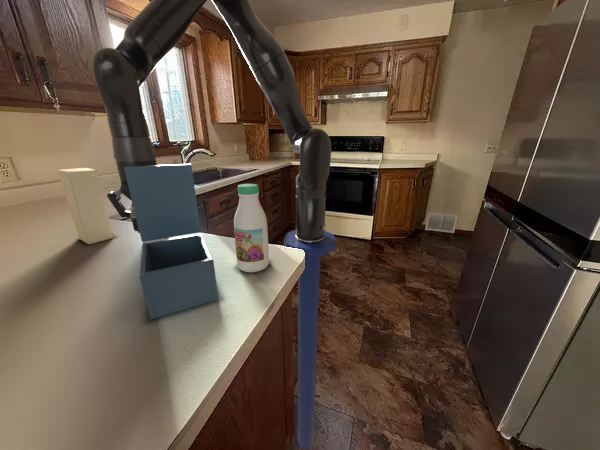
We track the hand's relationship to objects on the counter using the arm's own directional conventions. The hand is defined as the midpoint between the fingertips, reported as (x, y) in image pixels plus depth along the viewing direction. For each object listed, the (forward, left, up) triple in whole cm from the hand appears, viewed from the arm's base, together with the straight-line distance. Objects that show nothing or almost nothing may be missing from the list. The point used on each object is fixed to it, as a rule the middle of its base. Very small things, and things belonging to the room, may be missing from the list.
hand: (151, 230), depth 60 cm
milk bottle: (+1, +25, -8) cm, 27 cm away
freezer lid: (+6, +9, +9) cm, 14 cm away
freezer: (+12, +13, -8) cm, 19 cm away
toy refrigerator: (-13, -27, -8) cm, 31 cm away
